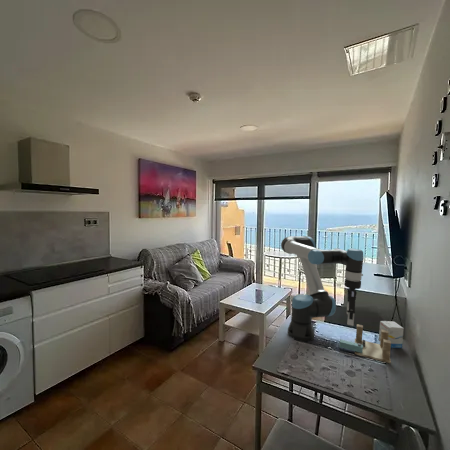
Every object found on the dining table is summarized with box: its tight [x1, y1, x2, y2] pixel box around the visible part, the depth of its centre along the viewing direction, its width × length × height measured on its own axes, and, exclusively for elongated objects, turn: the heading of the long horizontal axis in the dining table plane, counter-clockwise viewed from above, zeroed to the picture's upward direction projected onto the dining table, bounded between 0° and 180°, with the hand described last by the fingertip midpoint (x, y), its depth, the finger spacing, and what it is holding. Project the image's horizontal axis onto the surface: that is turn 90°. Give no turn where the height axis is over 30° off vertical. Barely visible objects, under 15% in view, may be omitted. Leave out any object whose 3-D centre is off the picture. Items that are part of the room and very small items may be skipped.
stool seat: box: [354, 324, 392, 364], centre depth 136 cm, size 16×16×10 cm
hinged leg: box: [338, 339, 363, 353], centre depth 135 cm, size 11×3×4 cm, turn 63°
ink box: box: [378, 320, 405, 349], centre depth 144 cm, size 9×8×12 cm
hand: (349, 319), depth 131 cm, fingers open, 13 cm apart
